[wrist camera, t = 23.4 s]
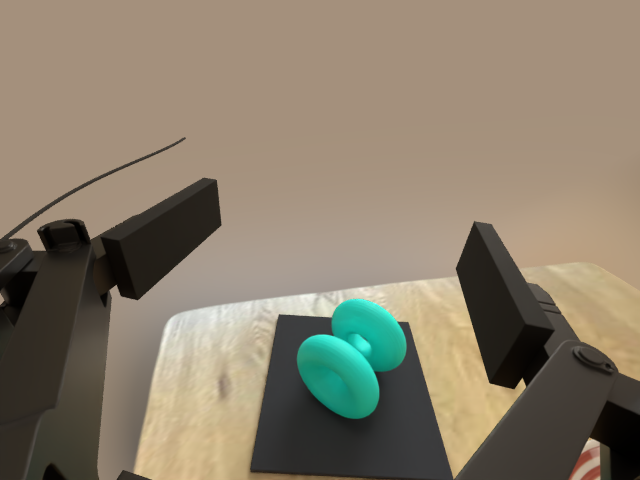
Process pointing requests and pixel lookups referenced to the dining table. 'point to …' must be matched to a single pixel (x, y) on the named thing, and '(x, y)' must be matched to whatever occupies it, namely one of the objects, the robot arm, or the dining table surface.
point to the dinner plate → (588, 463)
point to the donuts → (352, 357)
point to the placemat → (346, 419)
